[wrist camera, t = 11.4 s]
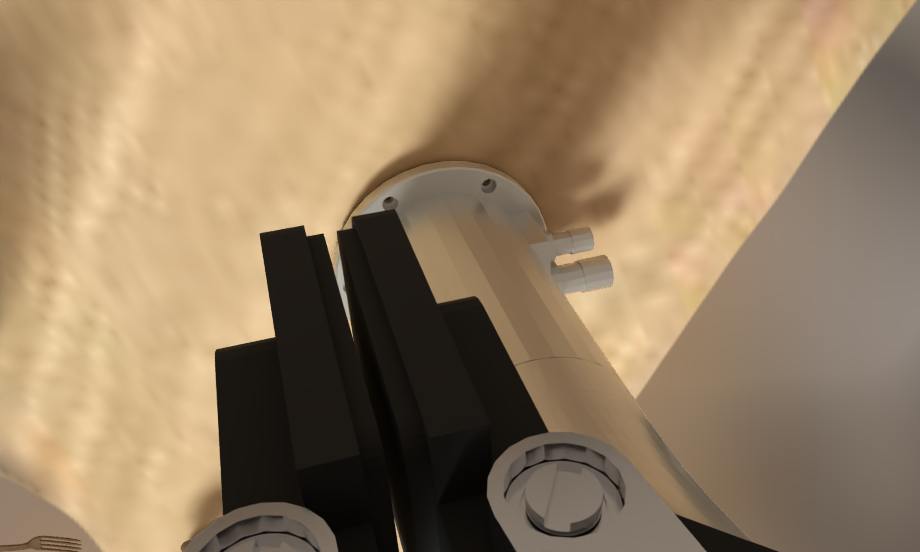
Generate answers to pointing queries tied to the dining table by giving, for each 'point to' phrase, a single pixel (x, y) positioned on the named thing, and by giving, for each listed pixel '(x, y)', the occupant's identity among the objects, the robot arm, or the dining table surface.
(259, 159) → the dining table surface
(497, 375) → the robot arm
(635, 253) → the dining table surface
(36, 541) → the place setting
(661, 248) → the dining table surface
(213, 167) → the dining table surface
